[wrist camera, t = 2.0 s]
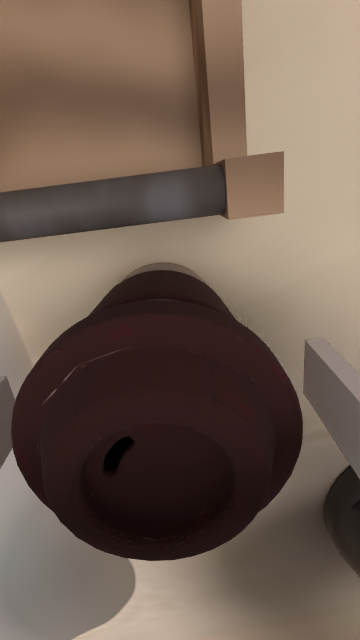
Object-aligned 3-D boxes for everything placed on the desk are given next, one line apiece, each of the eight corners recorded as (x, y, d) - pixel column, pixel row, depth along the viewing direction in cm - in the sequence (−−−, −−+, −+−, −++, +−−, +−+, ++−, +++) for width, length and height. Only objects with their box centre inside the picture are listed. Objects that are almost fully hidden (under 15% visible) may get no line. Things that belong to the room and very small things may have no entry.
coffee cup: (254, 336, 25) (365, 530, 11) (138, 391, 26) (106, 625, 12) (194, 213, 21) (244, 266, 7) (65, 284, 23) (-96, 441, 9)
